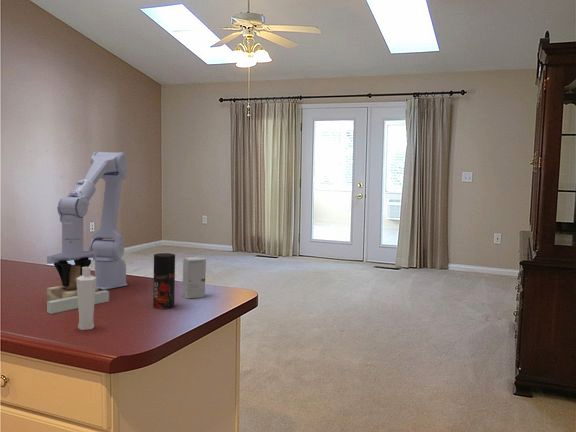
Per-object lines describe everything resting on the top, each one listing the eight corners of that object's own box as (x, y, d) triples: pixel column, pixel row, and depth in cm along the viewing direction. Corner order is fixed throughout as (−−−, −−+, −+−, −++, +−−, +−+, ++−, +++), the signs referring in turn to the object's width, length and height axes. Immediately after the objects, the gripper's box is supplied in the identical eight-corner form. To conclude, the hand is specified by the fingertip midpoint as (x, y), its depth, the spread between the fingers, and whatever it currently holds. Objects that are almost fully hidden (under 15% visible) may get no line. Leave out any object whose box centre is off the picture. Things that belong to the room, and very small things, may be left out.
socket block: (78, 295, 158) (78, 282, 158) (98, 301, 152) (98, 287, 152) (46, 301, 150) (46, 288, 149) (66, 307, 144) (66, 293, 144)
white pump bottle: (79, 324, 130) (79, 265, 128) (97, 324, 130) (97, 265, 129) (73, 330, 125) (73, 269, 124) (91, 330, 126) (92, 269, 124)
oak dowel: (80, 291, 153) (80, 264, 153) (80, 294, 150) (80, 267, 149) (65, 292, 152) (65, 265, 151) (65, 295, 148) (65, 267, 147)
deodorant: (178, 305, 151) (179, 254, 150) (167, 310, 146) (167, 257, 144) (160, 302, 153) (161, 252, 152) (148, 307, 148) (149, 255, 146)
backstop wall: (104, 300, 154) (104, 290, 153) (108, 301, 153) (109, 291, 152) (46, 312, 139) (46, 301, 139) (51, 313, 138) (51, 302, 138)
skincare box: (187, 299, 158) (188, 260, 157) (181, 296, 162) (182, 257, 161) (205, 297, 162) (206, 258, 161) (199, 294, 166) (200, 256, 165)
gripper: (86, 234, 158) (86, 279, 159) (40, 239, 146) (41, 286, 147) (101, 237, 154) (100, 282, 155) (55, 241, 142) (55, 290, 143)
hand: (72, 284), depth 151 cm, fingers closed on oak dowel, 4 cm apart
